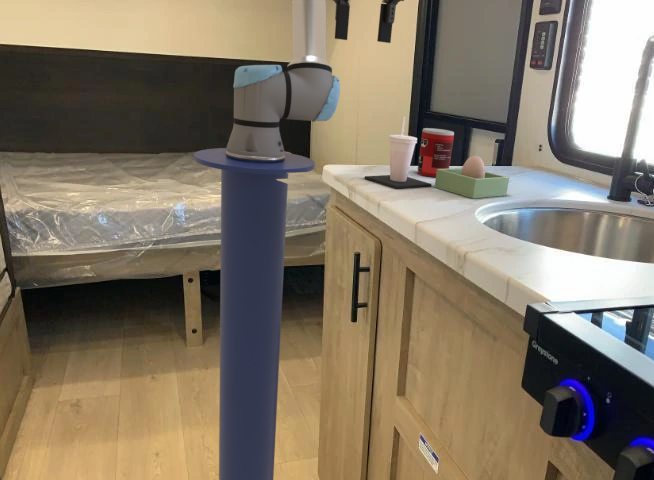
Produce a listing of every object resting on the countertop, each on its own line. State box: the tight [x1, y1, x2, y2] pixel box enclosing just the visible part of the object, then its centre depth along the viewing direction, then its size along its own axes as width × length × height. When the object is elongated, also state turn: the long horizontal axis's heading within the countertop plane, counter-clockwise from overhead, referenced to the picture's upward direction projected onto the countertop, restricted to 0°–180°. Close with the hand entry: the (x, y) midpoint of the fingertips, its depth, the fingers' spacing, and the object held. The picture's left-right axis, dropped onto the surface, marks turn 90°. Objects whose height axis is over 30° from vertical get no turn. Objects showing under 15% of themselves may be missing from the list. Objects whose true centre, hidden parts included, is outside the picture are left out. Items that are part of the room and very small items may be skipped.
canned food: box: [417, 127, 455, 178], centre depth 150 cm, size 8×8×11 cm
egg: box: [461, 155, 486, 179], centre depth 135 cm, size 5×5×7 cm
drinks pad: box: [364, 174, 433, 190], centre depth 137 cm, size 11×11×1 cm
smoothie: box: [388, 115, 418, 182], centre depth 135 cm, size 6×6×14 cm
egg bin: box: [434, 167, 510, 199], centre depth 135 cm, size 12×12×4 cm
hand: (361, 40), depth 119 cm, fingers open, 13 cm apart
